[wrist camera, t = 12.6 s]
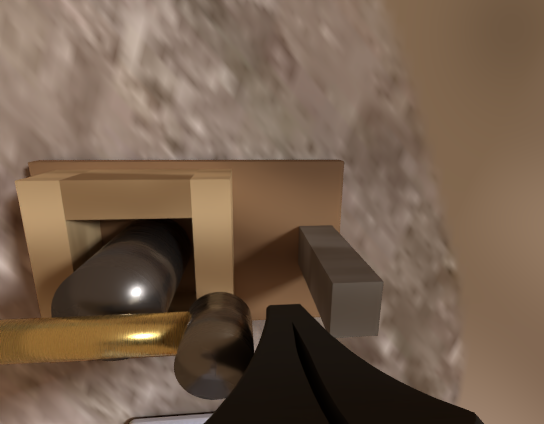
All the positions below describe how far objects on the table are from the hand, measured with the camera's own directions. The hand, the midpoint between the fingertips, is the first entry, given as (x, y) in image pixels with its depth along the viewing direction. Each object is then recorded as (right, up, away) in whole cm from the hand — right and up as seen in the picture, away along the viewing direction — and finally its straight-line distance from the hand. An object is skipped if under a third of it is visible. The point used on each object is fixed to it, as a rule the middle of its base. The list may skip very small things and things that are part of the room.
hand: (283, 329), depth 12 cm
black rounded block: (-7, +2, +7) cm, 10 cm away
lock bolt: (-6, 0, 0) cm, 6 cm away
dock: (-5, +2, +9) cm, 10 cm away
